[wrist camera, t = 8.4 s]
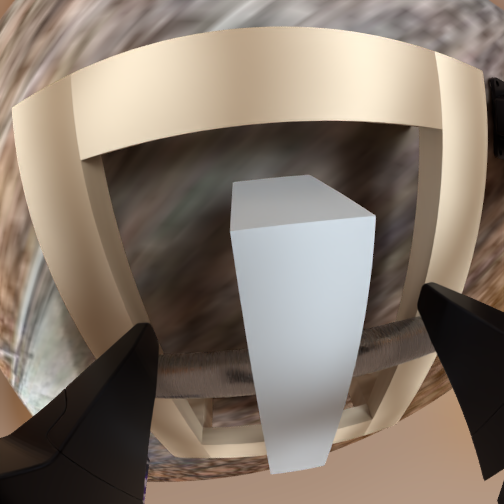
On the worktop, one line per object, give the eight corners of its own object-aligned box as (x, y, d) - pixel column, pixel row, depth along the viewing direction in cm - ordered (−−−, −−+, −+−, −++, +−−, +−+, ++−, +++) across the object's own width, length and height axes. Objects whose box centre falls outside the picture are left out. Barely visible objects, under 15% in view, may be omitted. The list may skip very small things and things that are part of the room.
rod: (433, 302, 11) (455, 327, 9) (423, 332, 12) (441, 357, 10) (120, 345, 11) (107, 378, 9) (136, 373, 12) (127, 404, 10)
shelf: (408, 78, 11) (482, 71, 6) (373, 374, 22) (396, 424, 16) (85, 106, 11) (11, 108, 5) (181, 400, 21) (175, 456, 16)
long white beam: (309, 174, 10) (375, 215, 5) (307, 395, 16) (324, 465, 11) (232, 182, 10) (229, 231, 5) (262, 402, 16) (270, 474, 11)
